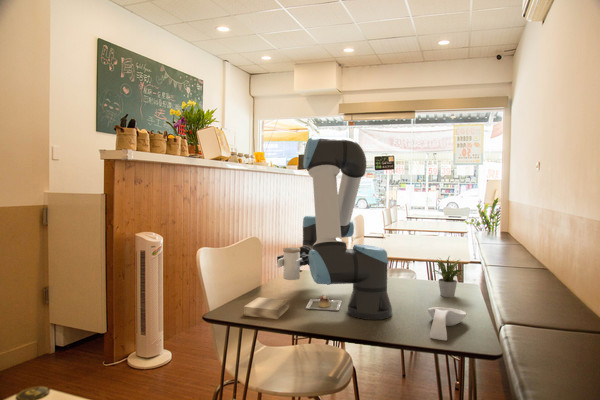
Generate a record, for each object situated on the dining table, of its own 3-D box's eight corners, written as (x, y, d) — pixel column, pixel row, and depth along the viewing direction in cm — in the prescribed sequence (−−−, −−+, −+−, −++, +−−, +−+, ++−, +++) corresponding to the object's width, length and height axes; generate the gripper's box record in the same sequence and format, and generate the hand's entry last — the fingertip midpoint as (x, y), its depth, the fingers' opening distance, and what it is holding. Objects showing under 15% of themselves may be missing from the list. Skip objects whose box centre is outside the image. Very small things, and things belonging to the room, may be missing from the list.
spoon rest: (430, 314, 139) (430, 294, 139) (467, 320, 134) (467, 298, 134) (418, 337, 118) (418, 313, 118) (461, 344, 113) (461, 319, 113)
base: (288, 308, 144) (289, 300, 144) (277, 319, 133) (277, 310, 133) (257, 305, 148) (257, 297, 147) (243, 315, 136) (243, 306, 136)
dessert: (310, 301, 155) (310, 289, 155) (341, 303, 153) (341, 290, 153) (305, 310, 144) (305, 297, 143) (339, 313, 141) (339, 299, 141)
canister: (302, 277, 152) (302, 247, 152) (297, 280, 146) (297, 250, 146) (286, 276, 154) (286, 247, 154) (280, 279, 148) (280, 249, 148)
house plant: (426, 299, 158) (427, 257, 158) (424, 290, 172) (425, 252, 171) (465, 301, 155) (466, 259, 154) (460, 292, 168) (461, 253, 168)
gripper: (327, 265, 164) (312, 276, 142) (283, 262, 170) (262, 273, 148) (327, 247, 164) (312, 255, 142) (283, 245, 170) (262, 252, 148)
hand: (287, 264), depth 145 cm, fingers closed on canister, 6 cm apart
